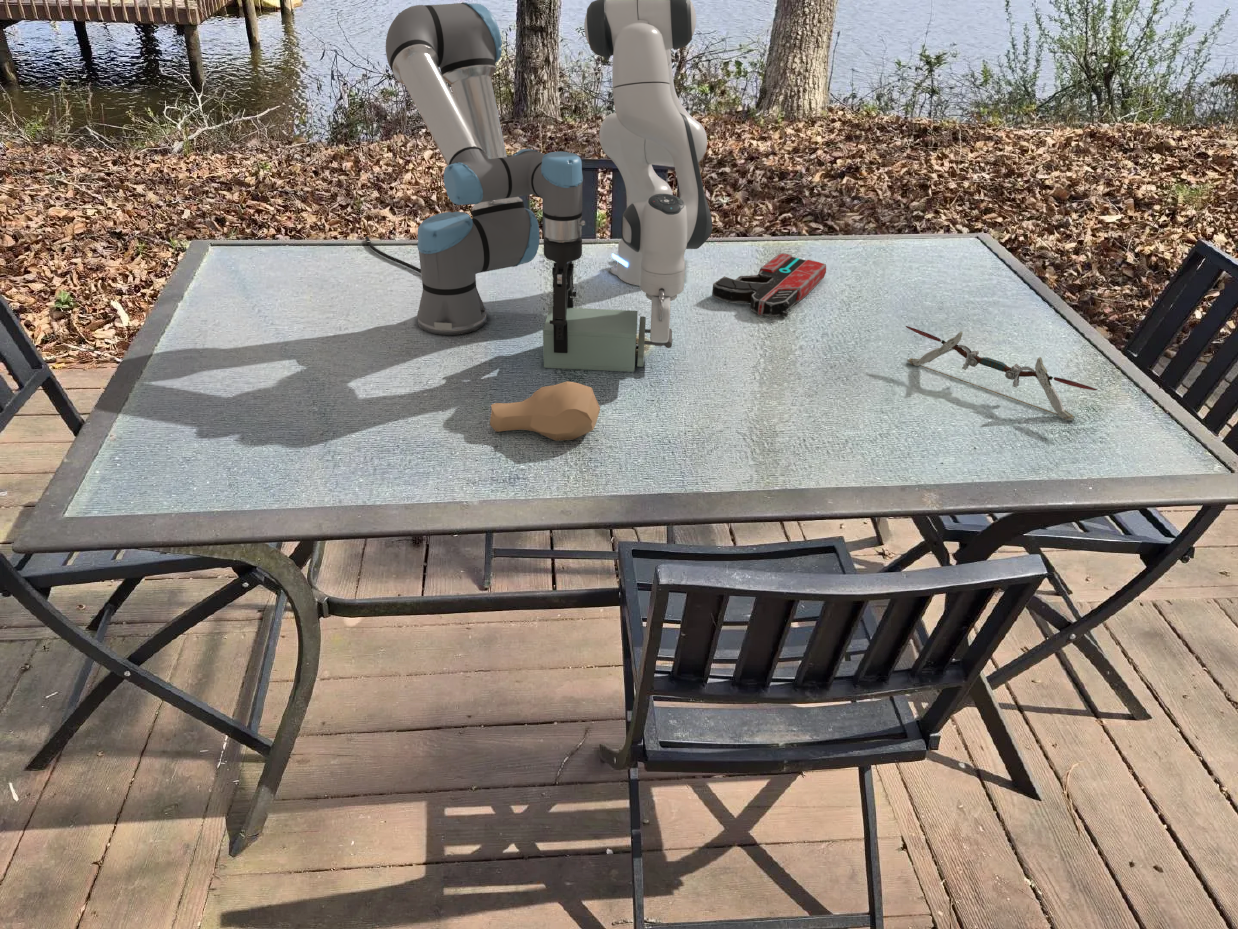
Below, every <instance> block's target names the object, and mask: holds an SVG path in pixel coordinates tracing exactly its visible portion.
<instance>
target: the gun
mask: <svg viewBox="0 0 1238 929" xmlns="http://www.w3.org/2000/svg"><path fill="white" fill-rule="evenodd" d="M826 273H827V264H826V263H823V262H820V261H816V260H812V259H802V258H799V257H795V256H793V255H792V254H791V253H784V252H780V253H778V254H777V255H775V256H774V257H773V258H771V259H770V260H768V261H767V262H766V263H765V264H763V265H762V266H761V267H760V269H759V271H758V273H757V274H756V275H753V274H752V275H751V274H750V275H740V276H738V277H737V278H735V279H734V278H731V277H727V276H722V277H720V279H717V281H715V282H713V283H712V291H711V297H713V298H714V299H716V300H719V301H723V302H727V303H730V304H750V305H749V308H750V310H751V312H753V313H755V314H757V315H758V316H760V317H761V316H765V317H770V318H771V317H777V316H780V317H784V318H787V317H788V315H789V311H788V310H790V309H791V308H792V307H793V306H794V305H795V304H798V303H799V302H801V301H802V300H803V299H804V298H805V297H807V296H808V295H809V294H810V293H811V292H812V291H813V290H814V289H815V287H817V285H818V284H820V283H821V282H822V280H823V279H824V278H825V276H826Z"/></svg>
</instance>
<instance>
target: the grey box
mask: <svg viewBox="0 0 1238 929" xmlns="http://www.w3.org/2000/svg"><path fill="white" fill-rule="evenodd" d="M638 312H639V311H638V310H628V309H627V310H626V309H606V308H605V309H604V308H585V307H583V308H582V307H573V308H567V317H566V320H567V335H568V352H567V353H554V327H553V324H550V320H553V306H549V308H548V311H547V314H546V318H545V320H544V325H543V328H542V348H543V350H542V351H543V368H544V369H567V370H587V371H608V372H627V373H634V372H635V370H636V366H635V365H636V355H637V339H638V338H637V335H638V314H639V313H638Z"/></svg>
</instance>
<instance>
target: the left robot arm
mask: <svg viewBox="0 0 1238 929" xmlns="http://www.w3.org/2000/svg"><path fill="white" fill-rule="evenodd" d="M502 42H503V41H502V35H501V31H500V27H499V25H498V22H497V20H496V18H495V16H494V14H493V13H492V12H491V11H490V10H489V9H488V7H487V6H485V5H484V4H481V3H469V2H464V1H463V2H459V3H457V2H456V3H443V4H441V3H439V4H425V5H424V4H416V5H412V6H408V7H407V8H405V9H403V10H401V11H400V12H399V13H398V14H397V15H396V17H395V18H394V19H393V20H392V22H391V24H390V26H389V27H388V30H387V35H386V38H385V55H386V60H387V63H388V66H389V68H390V70H391V73H392V75H393V76H394V78H395V79H396V81H397V82H399V83H400V84H402V85H404V87H405V88H406V90H407V92H408V94H409V95H410V98H411V100H412V101H413V103H414V105H415V107H416V109H417V111H418V114H419V115H420V117H421V119H422V121H423V123H424V124H425V126H426V128H427V130H428V132H429V133H430V135H431V138H432V140H433V141H434V143H435V145H436V147H437V149H438V151H439V153H440V155H441V156H442V158H443V160H444V163H445V164H446V167H445V169H444V172H443V185H444V188H445V191H446V195H447V197H448V199H449V200H450V201H451V203H453V204H454V205H457V206H465V205H466V206H467V205H473V206H472V208H471V209H470V211H471V216H472V217H471V216H470V215H469V213H466V212H463V211H453V212H452V211H446V212H440V213H437V214H434V215H432V216H429V217H427V218H426V219H424V220H423V221H422V222H421V223H420V224H419V226H418V227H417V245H416V246H417V247H416V248H417V251H418V258H419V267H420V268H419V267H417V266H416V265H413V264H410V263H408V262H406V261H404V260H401V259H399V258H396V257H394V256H391V255H389V254H387V253H385V252H383V251H381V250H380V249H378V248H377V247H376V246H374V245H373V244H372V242H371V240H370V237H369V236H368V235H367V236H365V237H364V239H365V241H366V243H367V246H368V247H369V248H370V249H371V250H372V251H374V253H376V254H378V255H379V256H382V257H383V258H386V259H388V260H389V261H392V262H395V263H397V264H399V265H401V266H404V267H407V268H409V269H411V270H413V271H416V272H417V273H418V274H420V275H421V276H420V278H421V284H422V292H421V297H420V302H419V305H418V310H417V315H416V318H417V325H418V326H419V328H420V329H421V330H423V331H424V332H427V333H430V334H433V335H440V336H459V335H465V334H469V333H473V332H476V331H477V330H480V329H481V328H483V327H484V326H485V325H486V323H487V320H488V316H487V310H486V306H485V304H484V302H483V299H482V298H481V295H480V293H479V291H478V288H477V278H476V277H477V276H476V275H477V274H481V273H486V272H492V271H497V270H502V269H507V268H510V267H511V268H515V267H518V266H521V265H524V264H528V263H530V262H532V261H533V260H534V259H535V257H536V256H537V254H538V250H539V248H540V240H541V238H540V237H541V235H540V225H539V221H538V219H537V217H536V214H535V213H534V211H533V210H531V209H528V208H525V204H524V200H523V198H521V197H524V196H533V195H535V196H536V197H538V198H540V199H542V236H544V238H543V256H544V257H545V258H546V259H547V260H549V261H552V262H553V267H552V269H551V275H552V289H553V290H552V307H553V320H550V324H553V327H554V353H567V352H568V335H567V320H566V317H567V308H574V298H576V297H577V291H574V289H575V286H574V271H575V270H574V269H575V263H573V262H574V261H578V260H580V258H582V256H583V239H582V235H583V227H584V226H586V221H585V220H584V219H583V182H584V175H583V167H582V165H583V163H582V159H581V157H580V156H579V155H578V154H577V153H574V152H569V151H562V150H561V151H560V150H559V151H558V150H557V151H550V152H548V153H545V154H544V153H543V152H541V151H538V150H536V149H532V148H522V149H519V150H518V151H516V152H515V153H513V155H511V156H508V155H507V150H506V145H505V141H504V140H505V139H504V136H503V130H502V127H501V121H500V116H499V111H498V106H497V102H496V96H495V91H494V86H493V81H492V77H493V76H494V74H495V73H496V71H497V66H496V64H497V62H498V61H499V60H500V59H501V57H502V52H503V49H502V47H501V46H502V45H503V43H502ZM449 85H450V87H451V88H450V87H449ZM451 89H452V90H451ZM582 219H583V220H582ZM367 241H370V242H367Z"/></svg>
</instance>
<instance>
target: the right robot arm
mask: <svg viewBox="0 0 1238 929" xmlns="http://www.w3.org/2000/svg"><path fill="white" fill-rule="evenodd" d="M696 26H697V13H696V9H695V6H694V4H693V2H692V0H593V1H591V2H590V4H589V5H588V6H587V8H586V14H585V17H584V23H583V30H584V35H585V38H586V41H587V44H588V45H589V48H590V50H591V51H592V52H593V53H594V54H595V55H597V56H599V57H603V58H604V59H605V60H606V61H610V58H611V57H612V69H611V70H612V71H611V72H612V75H611V78H612V80H611V81H612V96H613V97H612V98H613V106H614V111H615V112H613V113H610V114H608V115H607V116H606V117H605V118H604V120H603V121H602V123H601V125H600V128H599V132H598V140H599V145H600V147H601V150H602V152H603V153H604V155H606V156H607V157H608V158H609V159H610V160H611V161H612V162H613V163H614V165H615V167H616V168H617V169H618V171H619V173H620V175H621V177H622V180H623V184H624V187H625V193H626V194H625V195H626V196H625V197H626V208H625V210H624V212H623V213H622V215H621V226H620V228H621V230H620V231H621V232H620V233H621V239H620V240H619V241H618V245H617V254H615V253H611V258H612V259H613V260H615V261H616V264H614V265H613V266H612V267H610V273H611V274H613V275H614V276H617V277H618V278H619V279H620V280H621V281H623V282H624V283H627V284H630V285H634V286H639V289H640V291H641V292H643V293H644V294H645V297H646V299H648V300H650V301H651V313H650V314H651V315H650V328H649V329H650V333H649V339H650V340H649V341H651V342H657V343H667V342H668V339H669V328H670V327H671V326H670V325H671V324H670V323H671V302H672V301H675V300H676V299H677V298H678V295H679V294H681V293H683V292H684V291H685V290H684V289H685V276H686V261H685V252H686V250H698V249H699V248H701V247H702V246H703V245H704V244H705V243H706V242H707V240H709V238H710V236H711V235H712V232H713V218H712V213H711V210H710V207H709V204H708V200H707V197H706V194H705V190H704V183H703V179H702V173H701V170H700V164H699V163H700V162H701V161H702V159H703V158H704V156H705V154H706V152H707V149H708V136H707V132H706V130H705V127H704V126H703V124H702V123H700V122H699V121H698V120H697V119H695V118H694V117H693V116H692V115H691V114H690V113H689V112H688V111H687V110H686V108H685V107H684V106H683V104H682V103H681V101H680V98H679V96H678V95H677V92H676V88H675V83H674V82H675V80H674V75H673V74H674V73H673V65H672V52H671V50H672V49H673V51H676V50H679V49H682V48H685V47H687V46H688V45H689V44H690V43H691V41H692V40H693V37H694V34H695V30H696ZM653 166H661V167H668V168H674V171H675V175H676V180H677V185H678V189H679V195H680V197H679V196H677V195H674V193H673V190H672V188H671V186H670V184H669V183H668V182H667V181H666V180H664V179H663V178H662V177H660V175H659V176H658V174H657V173H656V171H655V170H654V167H653ZM654 346H655V347H663V346H664V345H654Z"/></svg>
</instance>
